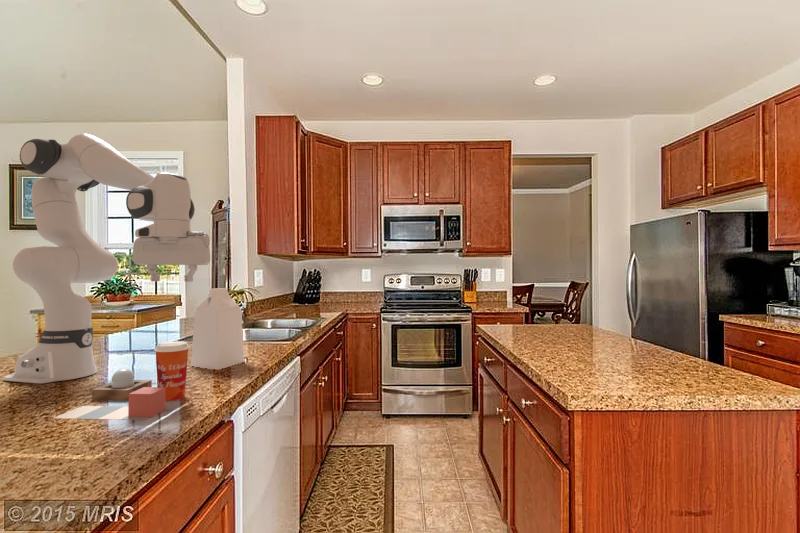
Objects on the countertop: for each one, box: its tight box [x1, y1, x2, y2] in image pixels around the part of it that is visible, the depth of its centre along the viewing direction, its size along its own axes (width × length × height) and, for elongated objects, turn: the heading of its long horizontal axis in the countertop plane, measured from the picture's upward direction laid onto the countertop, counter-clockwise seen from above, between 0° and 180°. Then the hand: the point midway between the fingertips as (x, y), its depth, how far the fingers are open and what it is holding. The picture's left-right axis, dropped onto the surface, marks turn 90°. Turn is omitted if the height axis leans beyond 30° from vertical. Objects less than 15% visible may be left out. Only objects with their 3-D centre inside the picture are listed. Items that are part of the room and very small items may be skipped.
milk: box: [190, 287, 245, 371], centre depth 140 cm, size 12×12×26 cm
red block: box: [128, 386, 166, 418], centre depth 90 cm, size 5×5×5 cm
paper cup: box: [153, 340, 191, 402], centre depth 101 cm, size 8×8×14 cm
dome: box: [111, 368, 135, 388], centre depth 104 cm, size 5×5×6 cm
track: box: [53, 405, 167, 421], centre depth 91 cm, size 20×8×1 cm, turn 88°
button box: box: [91, 379, 153, 401], centre depth 104 cm, size 9×9×3 cm
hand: (171, 281), depth 113 cm, fingers open, 8 cm apart
